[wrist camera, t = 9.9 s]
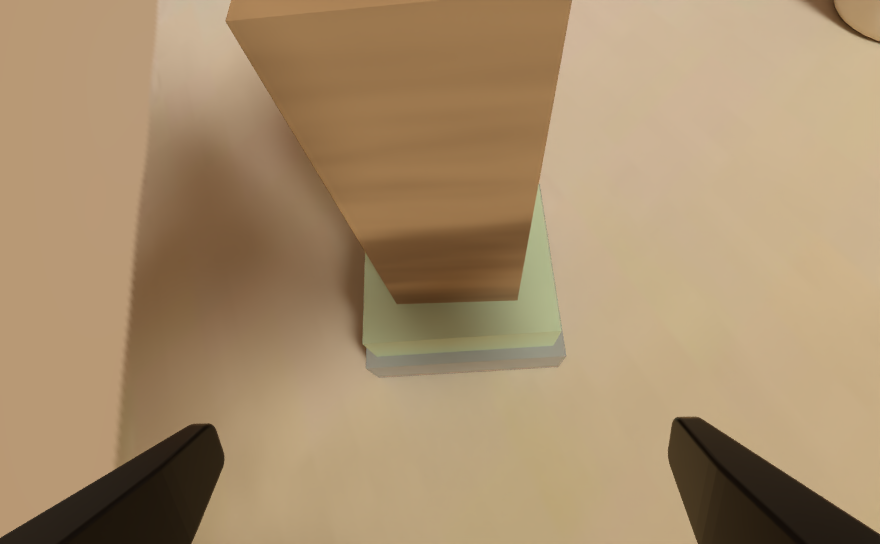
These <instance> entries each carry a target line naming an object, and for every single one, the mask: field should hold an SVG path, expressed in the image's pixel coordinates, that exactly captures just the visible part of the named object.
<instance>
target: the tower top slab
mask: <svg viewBox="0 0 880 544" xmlns="http://www.w3.org/2000/svg"><path fill="white" fill-rule="evenodd" d="M561 331H562V329H561V323H560V316H559V310H558V303H557V297H556V291H555V284H554V278H553V271H552V265H551V258H550V252H549V245H548V239H547V232H546V226H545V219H544V213H543V206H542V200H541V193H540V187H539V184H538V190H537V195H536V201H535V206H534V212H533V217H532V223H531V228H530V234H529V239H528V245H527V250H526V256H525V261H524V267H523V272H522V278H521V283H520V289H519V295H518V300H515V301H484V302H452V303H421V304H396V302H395V300H394V299H393V297H392V295H391V294H390V292H389V290H388V289H387V287H386V286H385V284H384V282H383V281H382V279H381V277H380V276H379V274H378V272H377V271H376V269H375V267H374V266H373V264H372V262H371V261H370V259H369V257H368V256H367V254H366V252H365V273H364V306H363V340H362V344H363V345H364V346H365V347H366V348H367V349H369V350H370V351H371V352H372V353H373V354H374V355H375V356H376V357H382V356H398V355H414V354H430V353H445V352H461V351H477V350H493V349H509V348H524V347H540V346H553V345H554V343H555V342H556V340H557V338H558V336H559V335H560V333H561Z"/></svg>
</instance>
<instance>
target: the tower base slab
mask: <svg viewBox="0 0 880 544" xmlns="http://www.w3.org/2000/svg"><path fill="white" fill-rule="evenodd" d="M539 187H540V184H539ZM540 193H541V190H540ZM541 200H542V196H541ZM542 206H543V202H542ZM543 213H544V209H543ZM544 219H545V215H544ZM545 226H546V222H545ZM546 232H547V228H546ZM547 239H548V235H547ZM548 245H549V241H548ZM549 252H550V248H549ZM550 258H551V254H550ZM551 265H552V261H551ZM552 271H553V267H552ZM553 278H554V273H553ZM554 284H555V280H554ZM555 291H556V286H555ZM556 297H557V293H556ZM557 303H558V299H557ZM558 310H559V306H558ZM559 316H560V312H559ZM560 323H561V319H560ZM561 329H562V325H561ZM565 357H566V351H565V344H564V338H563V331H561V333H560V335H559V336H558V338H557V340H556V342H555V343H554V345H553V346H540V347H524V348H509V349H493V350H477V351H461V352H445V353H430V354H414V355H398V356H382V357H376V356H375V355H374V354H373V353H372V352H371V351H370V350H369V349H367V348H366V369H367V370H369V371H370V372H372V373H373V374H374V375H376V376H377V377H396V376H412V375H429V374H446V373H463V372H480V371H496V370H513V369H530V368H547V367H558V366H559V365H560V364H561V362H562V361H563V360H564V358H565Z"/></svg>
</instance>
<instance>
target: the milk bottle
mask: <svg viewBox="0 0 880 544" xmlns="http://www.w3.org/2000/svg"><path fill="white" fill-rule="evenodd" d="M834 4H835V8H836V10H837V12H838V14H839V15H840V17H841V18H842V19H843V20H844V21H845V22H846V23H847V24H848V25H850V26H851V27H852V28H853V29H854V30H856V31H858V32H860V33H861V34H863V35H865V36H867V37H870V38H872V39H875V40H877V41H880V0H834Z"/></svg>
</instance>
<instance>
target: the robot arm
mask: <svg viewBox="0 0 880 544" xmlns="http://www.w3.org/2000/svg"><path fill="white" fill-rule="evenodd" d="M668 459H669V464H670V467H671V470H672V472H673V475H674V478H675V481H676V484H677V487H678V489H679V492H680V495H681V498H682V501H683V504H684V506H685V509H686V512H687V515H688V518H689V520H690V523H691V526H692V529H693V532H694V535H695V537H696V540H697V542H698V544H880V534H879V533H877V532H876V531H874V530H873V529H871V528H869V527H868V526H866V525H865V524H863V523H862V522H860V521H859V520H857V519H856V518H854V517H852V516H851V515H849V514H848V513H846V512H845V511H843V510H842V509H840V508H839V507H837V506H835V505H834V504H832V503H831V502H829V501H828V500H826V499H825V498H823V497H822V496H820V495H819V494H817V493H815V492H814V491H812V490H811V489H809V488H808V487H806V486H805V485H803V484H802V483H800V482H798V481H797V480H795V479H794V478H792V477H791V476H789V475H788V474H786V473H785V472H783V471H781V470H780V469H778V468H777V467H775V466H774V465H772V464H771V463H769V462H768V461H766V460H764V459H763V458H761V457H760V456H758V455H757V454H755V453H754V452H752V451H751V450H749V449H748V448H746V447H744V446H743V445H741V444H740V443H738V442H737V441H735V440H734V439H732V438H731V437H729V436H727V435H726V434H724V433H723V432H721V431H720V430H718V429H717V428H715V427H714V426H712V425H710V424H709V423H707V422H706V421H704V420H703V419H701V418H699V417H677V418H675V419H674V420H673V422H672V427H671V434H670V441H669V447H668ZM223 465H224V452H223V449H222V446H221V443H220V440H219V437H218V434H217V431H216V429H215V427H214V426H213V425H212V424H191V425H189V426H187V427H186V428H184V429H182V430H180V431H179V432H177V433H175V434H174V435H172V436H170V437H169V438H167V439H165V440H164V441H162V442H160V443H159V444H157V445H155V446H154V447H152V448H150V449H149V450H147V451H145V452H144V453H142V454H140V455H139V456H137V457H135V458H134V459H132V460H130V461H128V462H127V463H125V464H123V465H122V466H120V467H118V468H117V469H115V470H113V471H112V472H110V473H108V474H107V475H105V476H103V477H102V478H100V479H98V480H97V481H95V482H93V483H92V484H90V485H88V486H87V487H85V488H83V489H82V490H80V491H78V492H77V493H75V494H73V495H71V496H70V497H68V498H67V499H65V500H63V501H61V502H60V503H58V504H56V505H55V506H53V507H52V508H50V509H48V510H46V511H45V512H43V513H41V514H40V515H38V516H36V517H35V518H33V519H31V520H30V521H28V522H26V523H25V524H23V525H21V526H19V527H18V528H16V529H15V530H13V531H11V532H9V533H8V534H6V535H4V536H3V537H1V538H0V544H191V543H192V541H193V539H194V536H195V534H196V532H197V530H198V527H199V525H200V522H201V520H202V517H203V515H204V512H205V510H206V508H207V505H208V503H209V500H210V498H211V495H212V493H213V490H214V488H215V485H216V483H217V481H218V478H219V476H220V473H221V471H222V468H223Z"/></svg>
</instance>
